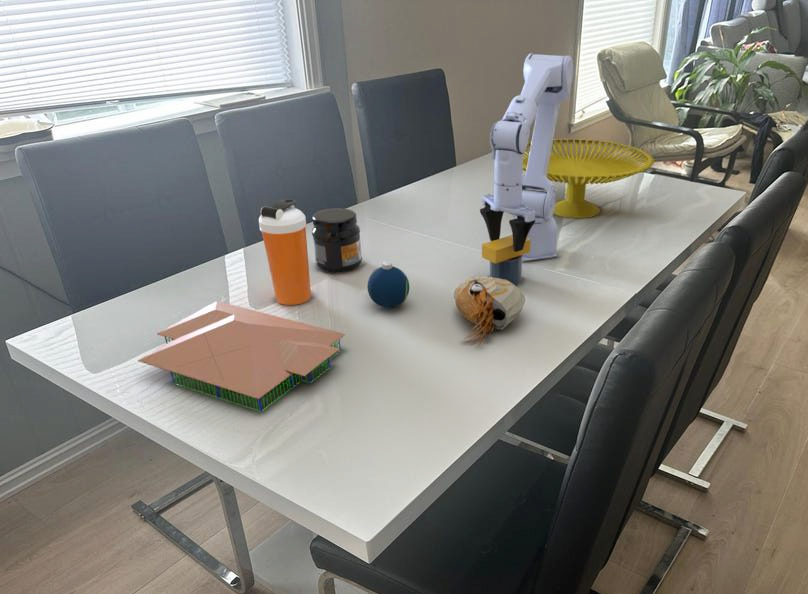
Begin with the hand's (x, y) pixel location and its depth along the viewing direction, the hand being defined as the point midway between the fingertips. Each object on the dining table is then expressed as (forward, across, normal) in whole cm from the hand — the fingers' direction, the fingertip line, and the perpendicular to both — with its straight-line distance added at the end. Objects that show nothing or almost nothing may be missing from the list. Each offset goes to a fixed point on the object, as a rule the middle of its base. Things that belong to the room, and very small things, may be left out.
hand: (506, 245), depth 148 cm
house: (+8, -3, -59) cm, 60 cm away
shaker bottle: (+8, -21, -40) cm, 46 cm away
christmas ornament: (+8, -6, -27) cm, 29 cm away
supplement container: (+8, -30, -24) cm, 40 cm away
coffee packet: (+2, 0, 0) cm, 2 cm away
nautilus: (+8, +13, -18) cm, 23 cm away
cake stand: (+8, -23, +47) cm, 53 cm away
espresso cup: (+8, 0, 0) cm, 8 cm away
